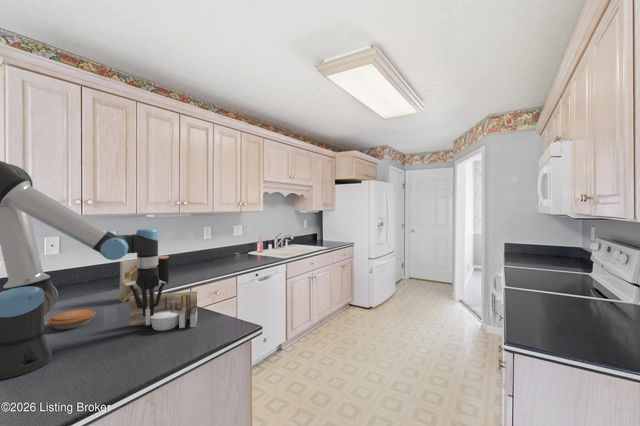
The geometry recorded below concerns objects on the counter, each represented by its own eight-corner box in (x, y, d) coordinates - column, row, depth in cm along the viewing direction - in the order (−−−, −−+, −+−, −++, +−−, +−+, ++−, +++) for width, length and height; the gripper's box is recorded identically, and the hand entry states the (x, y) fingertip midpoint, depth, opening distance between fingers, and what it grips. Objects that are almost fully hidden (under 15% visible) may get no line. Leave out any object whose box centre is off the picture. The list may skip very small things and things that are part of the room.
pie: (76, 332, 117) (76, 319, 117) (36, 332, 116) (36, 319, 116) (104, 318, 132) (104, 307, 132) (69, 318, 132) (69, 307, 132)
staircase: (119, 301, 157) (119, 254, 157) (143, 297, 166) (143, 252, 165) (123, 304, 152) (123, 255, 152) (148, 299, 160) (148, 253, 160)
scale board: (197, 318, 131) (197, 291, 131) (130, 325, 122) (129, 297, 122) (197, 317, 132) (197, 290, 132) (130, 324, 124) (130, 296, 124)
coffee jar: (152, 282, 198) (152, 255, 198) (170, 281, 201) (170, 255, 201) (148, 286, 188) (148, 258, 188) (167, 285, 191) (166, 257, 191)
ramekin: (186, 323, 125) (186, 311, 125) (165, 333, 115) (165, 320, 115) (166, 320, 129) (166, 308, 129) (143, 329, 118) (143, 317, 118)
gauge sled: (184, 327, 120) (184, 300, 120) (179, 328, 119) (179, 301, 119) (187, 318, 130) (186, 294, 130) (182, 319, 129) (182, 294, 129)
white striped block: (195, 327, 121) (195, 315, 121) (190, 327, 120) (190, 315, 120) (197, 318, 131) (196, 307, 131) (192, 319, 130) (192, 308, 130)
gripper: (167, 263, 125) (167, 318, 126) (131, 266, 121) (132, 322, 121) (164, 267, 118) (164, 325, 118) (126, 269, 114) (127, 329, 114)
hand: (148, 323), depth 120 cm, fingers closed
